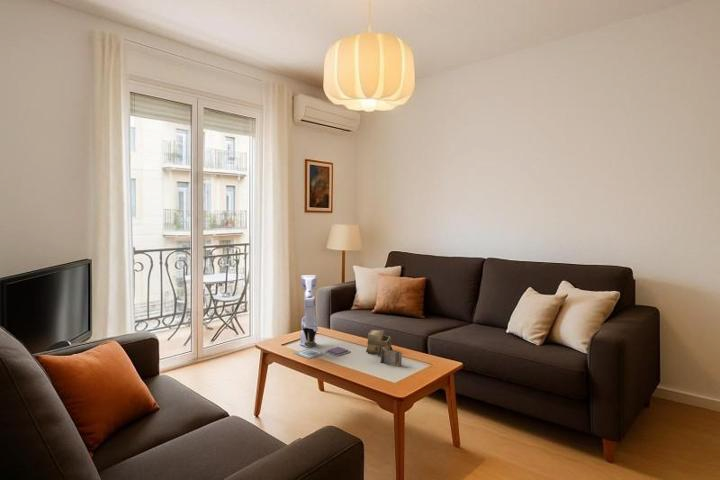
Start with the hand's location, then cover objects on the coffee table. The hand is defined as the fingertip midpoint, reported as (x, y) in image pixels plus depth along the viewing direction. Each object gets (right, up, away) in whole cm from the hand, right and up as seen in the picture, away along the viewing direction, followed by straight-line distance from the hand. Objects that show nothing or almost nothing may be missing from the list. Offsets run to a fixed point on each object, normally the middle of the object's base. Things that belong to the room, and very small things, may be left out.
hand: (309, 340), depth 248 cm
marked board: (0, -8, +1) cm, 8 cm away
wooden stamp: (0, -3, 0) cm, 3 cm away
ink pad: (+16, -8, +3) cm, 18 cm away
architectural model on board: (+47, -9, -16) cm, 50 cm away
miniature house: (+41, -8, +4) cm, 42 cm away
